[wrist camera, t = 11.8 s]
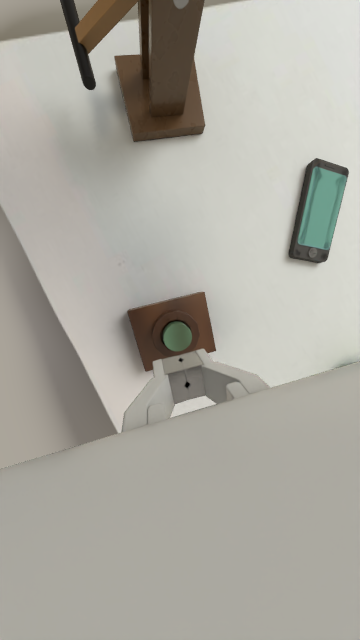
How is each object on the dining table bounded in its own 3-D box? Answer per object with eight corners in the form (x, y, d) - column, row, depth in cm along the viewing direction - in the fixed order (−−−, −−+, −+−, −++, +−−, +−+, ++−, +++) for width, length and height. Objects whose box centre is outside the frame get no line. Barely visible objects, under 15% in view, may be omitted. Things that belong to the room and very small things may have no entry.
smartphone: (293, 255, 29) (315, 156, 26) (287, 257, 30) (308, 161, 28) (328, 262, 30) (352, 168, 28) (321, 263, 31) (343, 173, 29)
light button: (166, 350, 25) (167, 355, 23) (159, 325, 24) (160, 327, 23) (191, 343, 26) (194, 347, 24) (186, 318, 25) (188, 320, 23)
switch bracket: (133, 141, 23) (114, -32, 11) (116, 68, 21) (69, -238, 9) (202, 133, 24) (257, -31, 12) (190, 63, 23) (240, -211, 10)
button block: (145, 366, 29) (145, 377, 25) (129, 309, 27) (125, 312, 23) (211, 346, 30) (220, 354, 26) (200, 291, 28) (208, 291, 24)
